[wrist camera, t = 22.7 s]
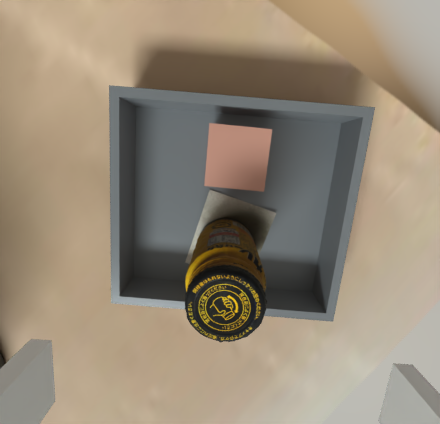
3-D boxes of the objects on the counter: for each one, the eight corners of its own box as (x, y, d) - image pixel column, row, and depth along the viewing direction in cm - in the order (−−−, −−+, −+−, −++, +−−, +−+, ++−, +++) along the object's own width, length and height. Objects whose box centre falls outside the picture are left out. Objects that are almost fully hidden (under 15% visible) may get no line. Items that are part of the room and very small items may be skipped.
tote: (315, 294, 30) (333, 321, 25) (129, 279, 30) (111, 303, 25) (346, 116, 26) (374, 107, 21) (131, 99, 26) (109, 85, 21)
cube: (256, 185, 26) (264, 191, 21) (208, 180, 26) (204, 185, 21) (263, 134, 25) (272, 129, 20) (212, 129, 25) (209, 123, 20)
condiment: (185, 261, 28) (157, 336, 16) (209, 189, 26) (198, 215, 15) (247, 282, 29) (263, 369, 17) (275, 212, 27) (316, 255, 15)
